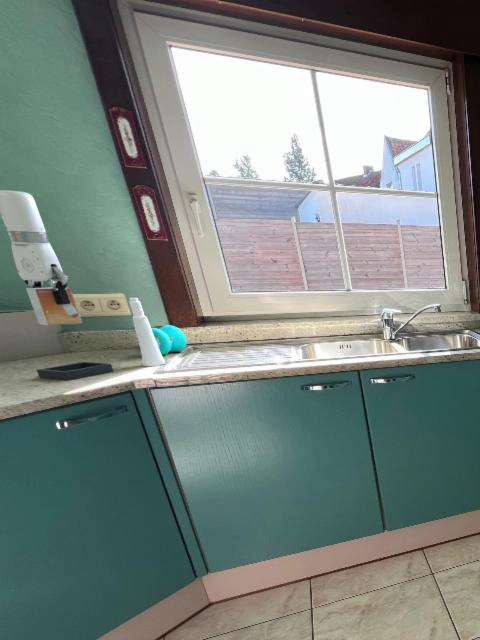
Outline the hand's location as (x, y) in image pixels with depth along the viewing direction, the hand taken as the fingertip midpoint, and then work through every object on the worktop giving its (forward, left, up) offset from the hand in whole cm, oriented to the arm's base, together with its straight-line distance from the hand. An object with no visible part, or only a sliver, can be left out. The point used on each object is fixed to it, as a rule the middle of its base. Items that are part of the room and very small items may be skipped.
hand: (53, 303), depth 147 cm
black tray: (+2, -2, -21) cm, 22 cm away
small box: (0, 0, -6) cm, 6 cm away
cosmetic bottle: (+9, +16, -22) cm, 28 cm away
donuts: (-5, +33, -22) cm, 40 cm away
